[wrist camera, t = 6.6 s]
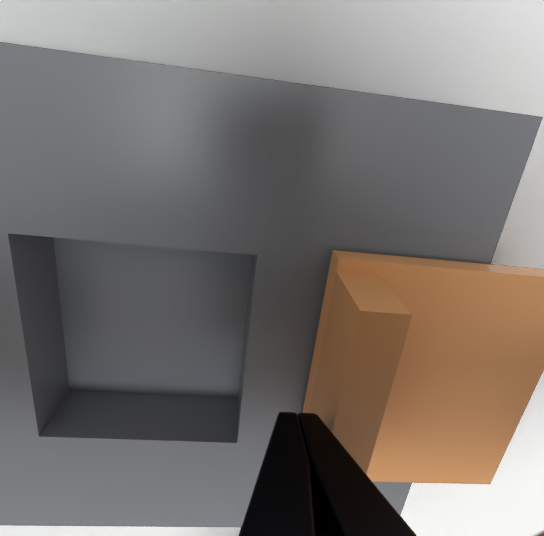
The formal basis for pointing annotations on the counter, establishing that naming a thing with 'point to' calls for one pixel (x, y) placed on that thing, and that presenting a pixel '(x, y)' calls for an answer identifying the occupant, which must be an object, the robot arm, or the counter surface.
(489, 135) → the socket
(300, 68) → the counter surface
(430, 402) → the shutter
